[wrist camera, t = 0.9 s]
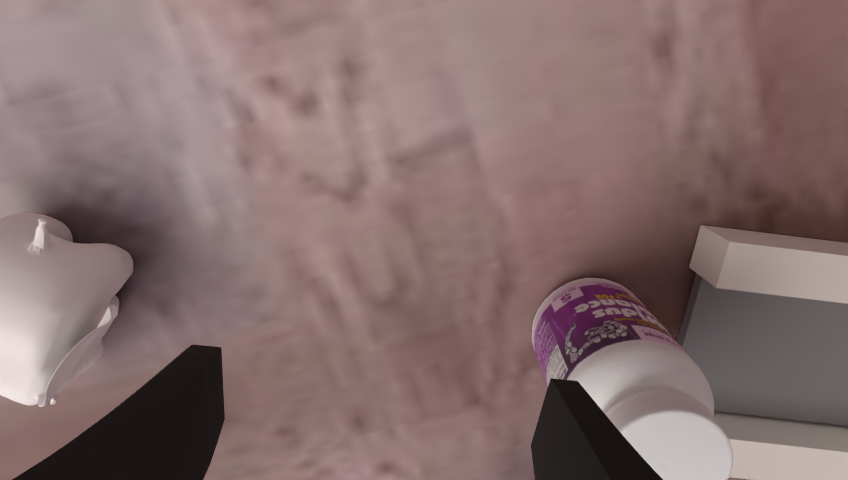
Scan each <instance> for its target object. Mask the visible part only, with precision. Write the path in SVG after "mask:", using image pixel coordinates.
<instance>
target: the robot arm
mask: <svg viewBox="0 0 848 480" xmlns="http://www.w3.org/2000/svg"><path fill="white" fill-rule="evenodd" d="M224 419H225V418H224V396H223V375H222V354H221V347H212V346H201V345H191V346H190V347H189V348H187V349H186V350H185V351H184V352H182V353H181V354H180V355H179V356H178V357H176V358H175V359H174V360H173V361H172V362H171V363H169V364H168V365H167V366H166V367H165V368H164V369H162V370H161V371H160V372H159V373H158V374H157V375H155V376H154V377H153V378H152V379H151V380H149V381H148V382H147V383H146V384H145V385H143V386H142V387H141V388H140V389H139V390H137V391H136V392H135V393H134V394H132V395H131V396H130V397H129V398H127V399H126V400H125V401H124V402H122V403H121V404H120V405H119V406H117V407H116V408H115V409H114V410H112V411H111V412H110V413H109V414H107V415H106V416H105V417H103V418H102V419H101V420H99V421H98V422H97V423H95V424H94V425H92V426H91V427H90V428H88V429H87V430H86V431H84V432H83V433H82V434H80V435H79V436H78V437H76V438H75V439H73V440H72V441H71V442H69V443H68V444H66V445H65V446H64V447H62V448H61V449H59V450H58V451H56V452H55V453H53V454H52V455H50V456H49V457H47V458H46V459H44V460H43V461H41V462H40V463H38V464H37V465H35V466H33V467H32V468H30V469H29V470H27V471H25V472H24V473H22V474H21V475H19V476H17V477H16V478H14V479H13V480H203V478H204V476H205V474H206V472H207V470H208V467H209V465H210V463H211V460H212V457H213V454H214V451H215V448H216V445H217V442H218V438H219V435H220V432H221V429H222V426H223V422H224ZM531 449H532V458H533V466H534V474H535V480H663V479H662V478H661V477H660V476H659V475H658V474H657V473H656V472H655V471H654V470H653V469H652V467H651V466H650V465H649V464H648V463H647V462H646V461H645V460H644V459H643V458H642V457H641V455H640V454H639V453H638V452H637V451H636V450H635V449H634V448H633V446H632V445H631V444H630V443H629V442H628V441H627V439H626V438H625V437H624V436H623V435H622V434H621V432H620V431H619V430H618V429H617V428H616V427H615V425H614V424H613V423H612V422H611V421H610V419H609V418H608V417H607V416H606V415H605V413H604V412H603V411H602V410H601V409H600V407H599V406H598V405H597V404H596V402H595V401H594V400H593V399H592V398H591V396H590V395H589V394H588V393H587V392H586V390H585V389H584V388H583V387H582V386H581V384H580V383H579V382H578V381H574V380H563V379H552V378H551V379H550V382H549V385H548V389H547V392H546V396H545V399H544V403H543V406H542V409H541V413H540V416H539V420H538V423H537V427H536V430H535V433H534V437H533V440H532V444H531Z"/></svg>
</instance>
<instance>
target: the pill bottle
mask: <svg viewBox="0 0 848 480" xmlns="http://www.w3.org/2000/svg"><path fill="white" fill-rule="evenodd" d="M532 342H533V346H534V350H535V353H536V356H537V360H538V362H539V365H540V368H541V370H542V373H543V376H544V379H545V382H546V385H547V388H548V385H549V382H550V379H551V378H552V379H563V380H574V381H578V382H579V383H580V384H581V386H582V387H583V388H584V389H585V390H586V392H587V393H588V394H589V395H590V396H591V398H592V399H593V400H594V401H595V402H596V404H597V405H598V406H599V407H600V409H601V410H602V411H603V412H604V413H605V415H606V416H607V417H608V418H609V419H610V421H611V422H612V423H613V424H614V425H615V427H616V428H617V429H618V430H619V431H620V432H621V434H622V435H623V436H624V437H625V438H626V439H627V441H628V442H629V443H630V444H631V445H632V446H633V448H634V449H635V450H636V451H637V452H638V453H639V454H640V455H641V457H642V458H643V459H644V460H645V461H646V462H647V463H648V464H649V465H650V466H651V467H652V469H653V470H654V471H655V472H656V473H657V474H658V475H659V476H660V477H661V478H662V479H663V480H728V478H729V476H730V472H731V469H732V465H733V452H732V447H731V443H730V441H729V439H728V436H727V435H726V433H725V432H724V430H723V428H722V427H721V426H720V424H719V423H718V421H717V420H716V419H715V417H714V400H713V395H712V391H711V388H710V385H709V383H708V381H707V379H706V377H705V375H704V374H703V372H702V371H701V369H700V368H699V367H698V365H697V364H696V363H695V362H694V361H693V360H692V359H691V357H690V356H689V355H688V354H687V353H686V351H685V350H684V349H683V348H682V347H681V346H680V345H679V344H678V343H677V342H676V341H675V339H674V338H673V337H672V336H671V335H670V334H669V332H668V331H667V330H666V329H665V328H664V327H663V326H662V325H661V323H660V322H659V321H658V320H657V319H656V318H655V317H654V316H653V315H652V314H651V313H650V311H649V310H648V309H647V308H646V307H645V306H644V304H643V303H642V302H641V301H640V300H639V299H638V298H637V297H636V296H635V295H634V294H633V293H632V292H631V291H629V290H628V289H627V288H625V287H624V286H622V285H620V284H618V283H616V282H613V281H610V280H607V279H600V278H583V279H578V280H574V281H571V282H568V283H566V284H565V285H563V286H561V287H559V288H558V289H556V290H555V291H553V292H552V293H551V294H550V295H549V296H548V297H547V298H546V299H545V300H544V301H543V302H542V304H541V306H540V307H539V309H538V311H537V313H536V315H535V318H534V320H533V326H532Z"/></svg>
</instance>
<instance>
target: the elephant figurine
mask: <svg viewBox="0 0 848 480" xmlns="http://www.w3.org/2000/svg"><path fill="white" fill-rule="evenodd" d="M132 273H133V260H132V257H131V256H130V254H129V253H128V252H127V251H125V250H124V249H122V248H120V247H118V246H116V245H111V244H107V243H92V244H81V243H73V237H72V234H71V232H70V229H69V228H68V227H67V226H66V225H65V224H64V223H63V222H61V221H59V220H57V219H54V218H52V217H49V216H47V215H43V214H37V213H20V214H15V215H11V216H8V217H5V218H3V219H1V220H0V395H1V396H4V397H6V398H9V399H11V400H13V401H15V402H19V403H22V404H25V405H35V404H37V403H38V406H39V407H43V406H45V405H46V404H48V403H49V401H50V400H51V402H50V405H53V404H55V402H56V399H57V397H58V396H57V395H56V394H58V393H59V392H60V391H62V390H63V389H64V388H65V387H66V386H67V385H68V384H69V383H70V382H71V381H73V380H74V379H75V378H76V377H77V376H79V375H80V374H81V373H82V372H84V371H85V370H86V369H88V368H89V367H90V366H92V365H93V364H94V363H95V362H97V361H98V359H99V358H100V357H101V356H102V355H103V347H102V342H101V340H102V337H103V336H104V335H105V334H106V332H107V331H108V329H109V327H110V325H111V324H112V322H113V320H114V319H115V318H116V317H117V315H118V310H119V299H118V297H117V296H116V295H115V294H116V293H117V292H118V291H119V290H120V289H121V287H122V286H123V285H124V283H125V282H126V281H127V280H128V278H129V277H130V276H131V275H132Z"/></svg>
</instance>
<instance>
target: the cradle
mask: <svg viewBox="0 0 848 480" xmlns="http://www.w3.org/2000/svg"><path fill="white" fill-rule="evenodd" d="M689 268H691V269H692V270H693V271H695V272H696V276H695V279H694V283H693V286H692V290H691V293H690V297H689V300H688V304H687V307H686V311H685V314H684V318H683V321H682V325H681V328H680V332H679V335H678V339H677V343H678V344H679V345H680V346H681V347H682V348H683V349H684V350H685V351H686V353H687V354H688V355H689V356H690V357H691V359H692V360H693V361H694V362H695V363H696V364H697V365H698V367H699V368H700V369H701V371H702V372H703V374H704V375H705V377H706V379H707V381H708V383H709V385H710V388H711V391H712V395H713V400H714V417H715V419H716V420H717V421H718V423H719V424H720V426H721V427H722V428H723V430H724V432H725V433H726V435H727V436H728V439H729V441H730V443H731V447H732V452H733V465H732V469H731V472H730V476H729V477H732V478H741V479H750V480H848V243H844V242H836V241H828V240H820V239H812V238H803V237H795V236H787V235H779V234H771V233H762V232H754V231H746V230H738V229H730V228H721V227H713V226H705V225H701V226H700V229H699V233H698V237H697V240H696V244H695V247H694V251H693V254H692V258H691V262H690V265H689Z"/></svg>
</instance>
